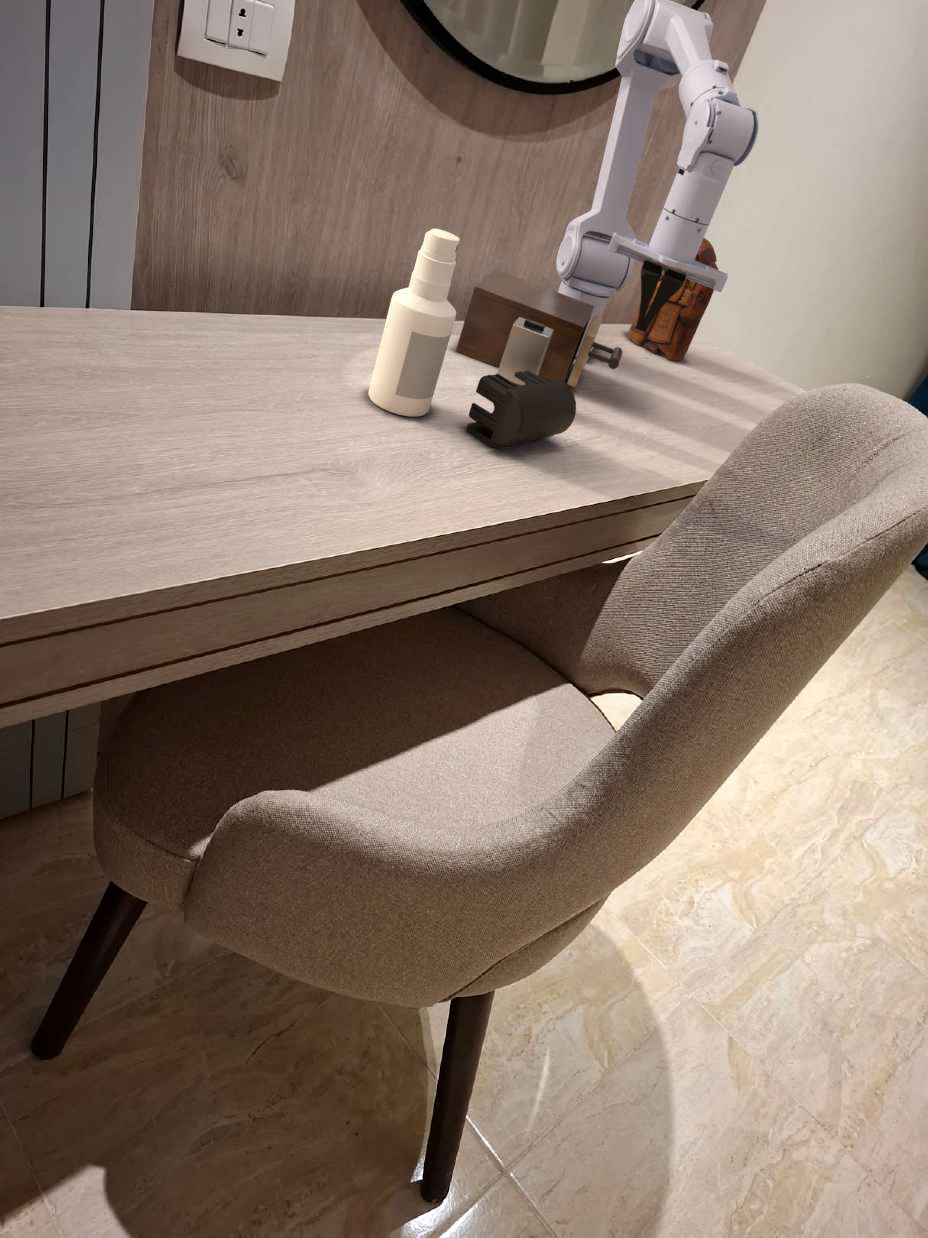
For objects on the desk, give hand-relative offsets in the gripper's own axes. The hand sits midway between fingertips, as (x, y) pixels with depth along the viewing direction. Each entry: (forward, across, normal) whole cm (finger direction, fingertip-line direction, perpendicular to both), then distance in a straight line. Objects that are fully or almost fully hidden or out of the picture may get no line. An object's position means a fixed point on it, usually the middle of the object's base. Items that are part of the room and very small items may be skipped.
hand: (640, 328), depth 113 cm
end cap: (+11, -9, -24) cm, 27 cm away
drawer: (+9, -10, +4) cm, 14 cm away
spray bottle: (+11, -22, -26) cm, 35 cm away
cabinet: (+10, -14, +4) cm, 18 cm away
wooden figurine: (+11, +4, +36) cm, 38 cm away
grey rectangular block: (+10, -12, -10) cm, 19 cm away
